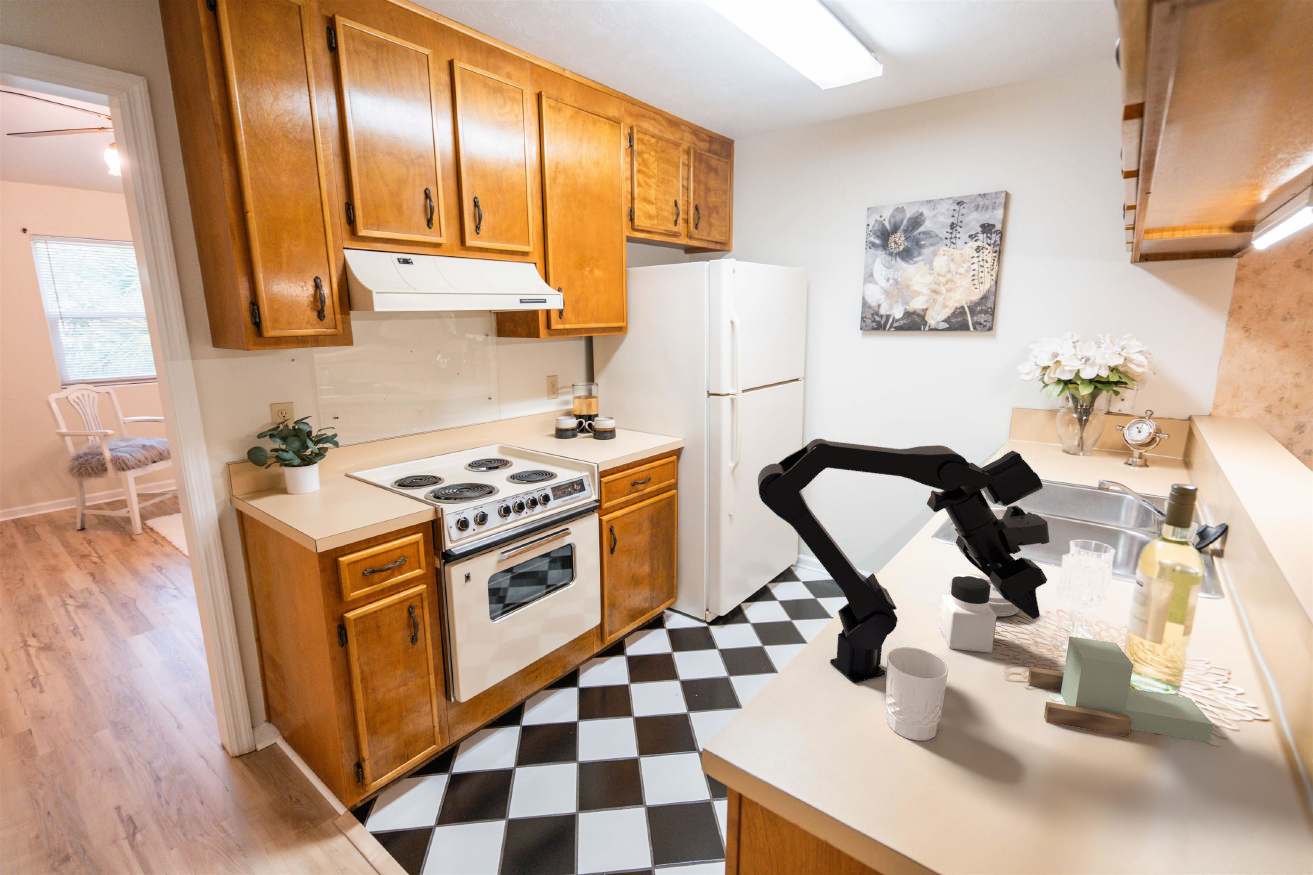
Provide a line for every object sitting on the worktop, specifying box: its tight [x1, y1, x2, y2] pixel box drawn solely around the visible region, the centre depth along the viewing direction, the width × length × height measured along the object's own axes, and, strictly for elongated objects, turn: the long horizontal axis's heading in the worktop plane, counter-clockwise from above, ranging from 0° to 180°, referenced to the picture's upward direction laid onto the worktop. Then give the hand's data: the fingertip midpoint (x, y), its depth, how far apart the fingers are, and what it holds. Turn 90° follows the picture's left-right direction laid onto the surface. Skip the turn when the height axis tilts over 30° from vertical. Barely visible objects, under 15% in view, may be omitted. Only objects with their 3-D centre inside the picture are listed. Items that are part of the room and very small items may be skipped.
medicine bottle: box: [938, 574, 998, 654], centre depth 107 cm, size 7×7×12 cm
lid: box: [948, 573, 1020, 617], centre depth 121 cm, size 13×13×5 cm
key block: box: [1060, 636, 1214, 743], centre depth 86 cm, size 16×6×10 cm, turn 71°
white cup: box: [885, 647, 949, 742], centre depth 85 cm, size 8×8×10 cm
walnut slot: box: [1027, 666, 1132, 738], centre depth 89 cm, size 10×10×2 cm
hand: (1022, 602), depth 93 cm, fingers open, 9 cm apart
